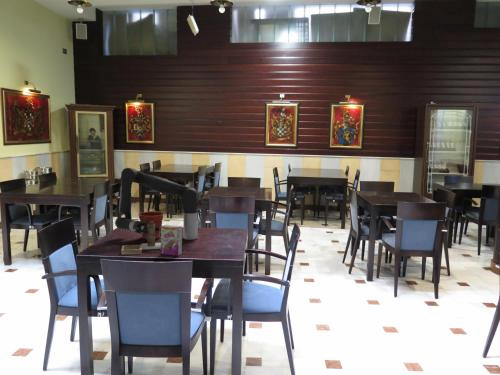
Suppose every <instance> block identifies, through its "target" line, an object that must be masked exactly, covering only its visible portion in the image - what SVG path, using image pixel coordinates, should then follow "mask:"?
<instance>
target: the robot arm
mask: <svg viewBox="0 0 500 375" xmlns="http://www.w3.org/2000/svg"><path fill="white" fill-rule="evenodd" d="M120 174H121V175H120V179H121V181H120V182H121V192H120V194H121V195H120V201H119V202H120V203H119V213H120V214H123V215H124V217H121V216H119V217H117V218H116V219H115V221H114V224H115V227H116V228H118V229H121V230H128V231H131V232H133V233H136V234H139V235H142V233H145V234H147V233H148V230H147V224H146V223H145V222H142V221H140V220H139V219H137V220H136V219H132V211H131V210H132V203H133V202H132V200H133V199H132V185H133V183H136V184H138V185H139V184H140V185H142V186H145V187H147V188H149V189H150V190H153V191H155V192H157V193H161V194H165V195H166V194H167V195H172V196H173V195H174V196H178V197H180V198H182V200H181V201H182V211H183V214H182V215H183V217H182V218H183V220H182V221H183V222H182V223H183V225H182V230H183V231H182V235H183V236H182V239H184V240H187V241H188V240H189V241H190V240H197V239H198V233H199V232H198V230H199V229H198V226H199V225H198V223H199V221H198V211H199V209H198V206H197V205H198V204H197V203H198V202H197V200H198V198H199V191H198V190H197V189H196V188H194V187H191V186H186V185H182V184H179V183H176V182H174V181H171V180H169V179H166V178H163V177H160V176H157V175H152V174H147V173H145V172H142V171H140V170H137V169H135V168H133V167H125V168H123V169H122V171H121V172H120ZM155 231H160V228H158V226H156V225H155Z"/></svg>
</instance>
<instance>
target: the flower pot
mask: <svg viewBox="0 0 500 375" xmlns="http://www.w3.org/2000/svg"><path fill="white" fill-rule="evenodd" d="M137 215H138V217H139V221H142V222H145V223H146V224H149V222H150V221H153V223H154V224H155V225H156V226H158V228H160V231H155V240H158V239H161V226H163V220H164V215H165V212H162V211H144V212H139V213H138V214H137ZM141 238H142V239H144V240H147V234H145V233H142V234H141Z"/></svg>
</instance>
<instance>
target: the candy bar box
mask: <svg viewBox="0 0 500 375" xmlns="http://www.w3.org/2000/svg"><path fill="white" fill-rule="evenodd" d="M182 230H183V225H181V226H180V225H170V224H162V226H161V238H160V243H161V249H160V255H164V256H165V255H167V256H174V257H179V256H180V255H182V253H183V249H182V248H183V246H182V244H183V236H182V235H183V231H182Z"/></svg>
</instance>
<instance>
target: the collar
mask: <svg viewBox="0 0 500 375" xmlns="http://www.w3.org/2000/svg"><path fill="white" fill-rule="evenodd" d="M142 252H143V249H142V245H141V244H131V245H130V244H125V245H122V246H121V250H120V254H121V256H123V255H124V256H125V255H128V256H129V255H142V254H143V253H142Z"/></svg>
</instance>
